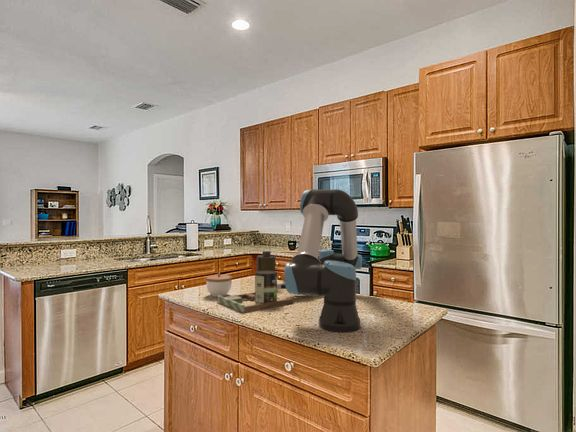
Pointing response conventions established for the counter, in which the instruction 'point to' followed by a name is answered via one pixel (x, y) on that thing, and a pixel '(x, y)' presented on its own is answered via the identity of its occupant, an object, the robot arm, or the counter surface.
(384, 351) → the counter surface
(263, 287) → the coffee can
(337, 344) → the counter surface
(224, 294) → the lidded bowl
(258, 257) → the canister
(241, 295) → the trap lane
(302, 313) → the counter surface
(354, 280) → the robot arm
